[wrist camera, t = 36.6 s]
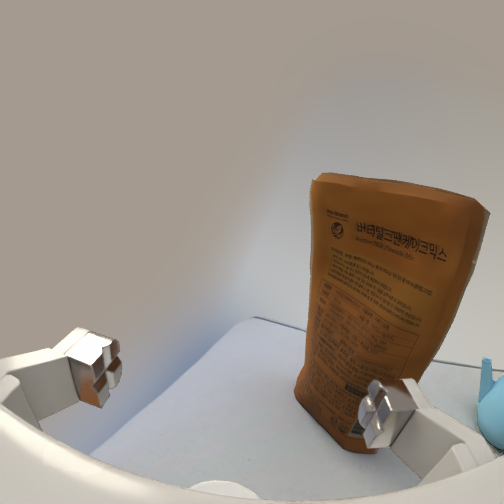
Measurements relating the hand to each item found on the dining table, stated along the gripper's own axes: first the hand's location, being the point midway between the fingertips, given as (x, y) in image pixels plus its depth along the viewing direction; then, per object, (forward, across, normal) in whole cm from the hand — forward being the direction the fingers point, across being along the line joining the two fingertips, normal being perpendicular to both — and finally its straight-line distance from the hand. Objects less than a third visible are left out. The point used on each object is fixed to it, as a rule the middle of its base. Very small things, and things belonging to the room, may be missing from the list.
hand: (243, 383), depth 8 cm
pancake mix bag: (+18, -12, +20) cm, 29 cm away
